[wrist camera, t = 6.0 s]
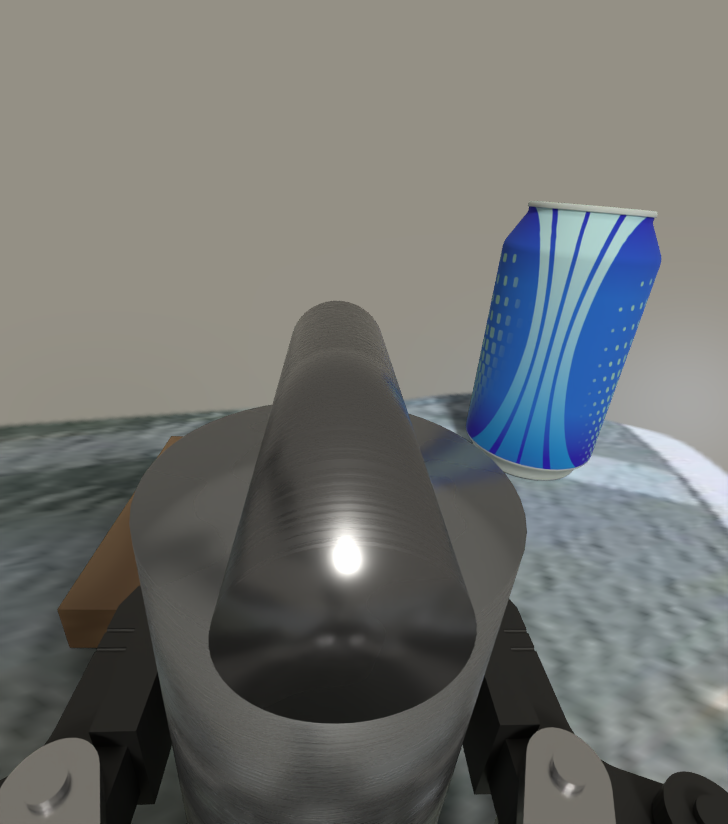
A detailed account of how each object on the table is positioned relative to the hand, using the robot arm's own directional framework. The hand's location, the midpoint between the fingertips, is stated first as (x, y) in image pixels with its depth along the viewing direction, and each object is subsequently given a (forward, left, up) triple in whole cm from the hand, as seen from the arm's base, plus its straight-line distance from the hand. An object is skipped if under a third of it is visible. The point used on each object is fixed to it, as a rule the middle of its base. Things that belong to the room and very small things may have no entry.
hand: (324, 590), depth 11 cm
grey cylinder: (0, -2, -7) cm, 7 cm away
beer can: (+14, +19, -7) cm, 24 cm away
